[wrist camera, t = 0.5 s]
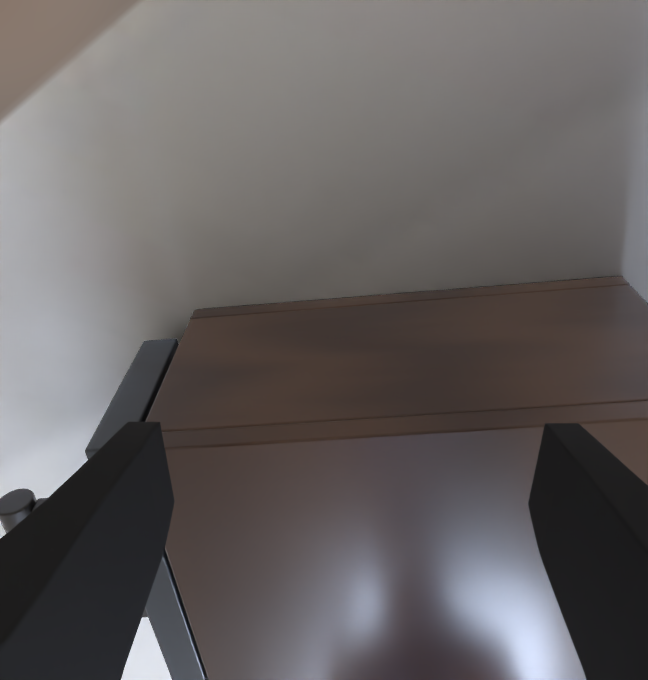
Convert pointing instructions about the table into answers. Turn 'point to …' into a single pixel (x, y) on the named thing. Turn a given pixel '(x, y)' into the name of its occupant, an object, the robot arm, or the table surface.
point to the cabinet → (388, 475)
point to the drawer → (164, 595)
